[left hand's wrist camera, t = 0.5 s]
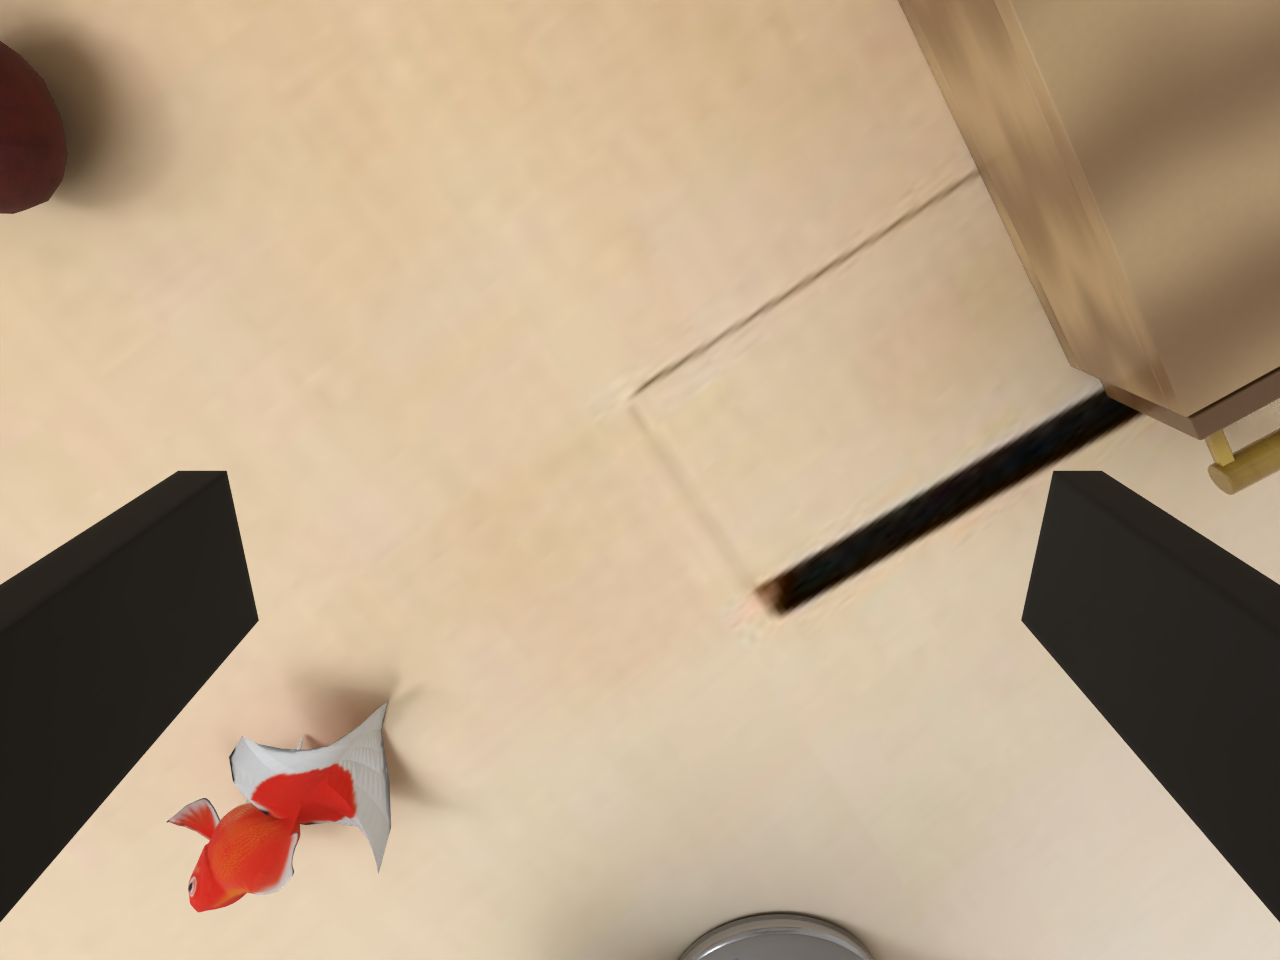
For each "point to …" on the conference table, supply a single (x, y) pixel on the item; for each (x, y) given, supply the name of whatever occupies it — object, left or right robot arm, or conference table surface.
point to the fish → (287, 811)
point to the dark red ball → (27, 136)
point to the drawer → (1208, 423)
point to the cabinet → (1130, 175)
